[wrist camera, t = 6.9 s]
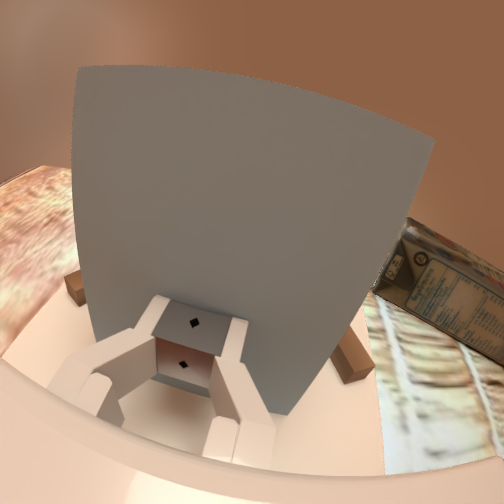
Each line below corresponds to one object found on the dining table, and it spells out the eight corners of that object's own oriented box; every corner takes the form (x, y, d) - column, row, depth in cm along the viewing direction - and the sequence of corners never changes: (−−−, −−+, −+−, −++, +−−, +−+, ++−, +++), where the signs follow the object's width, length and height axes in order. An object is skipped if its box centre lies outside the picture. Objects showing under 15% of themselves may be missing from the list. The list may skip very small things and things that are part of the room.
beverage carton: (383, 260, 29) (408, 207, 26) (507, 334, 22) (538, 290, 19) (368, 293, 23) (401, 228, 20) (516, 379, 16) (558, 330, 13)
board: (348, 273, 25) (352, 263, 24) (373, 515, 8) (385, 512, 7) (143, 218, 25) (144, 208, 25) (-10, 394, 8) (-18, 384, 8)
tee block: (295, 304, 18) (363, 114, 12) (287, 415, 12) (435, 140, 5) (161, 267, 18) (184, 73, 12) (101, 359, 12) (78, 66, 5)
